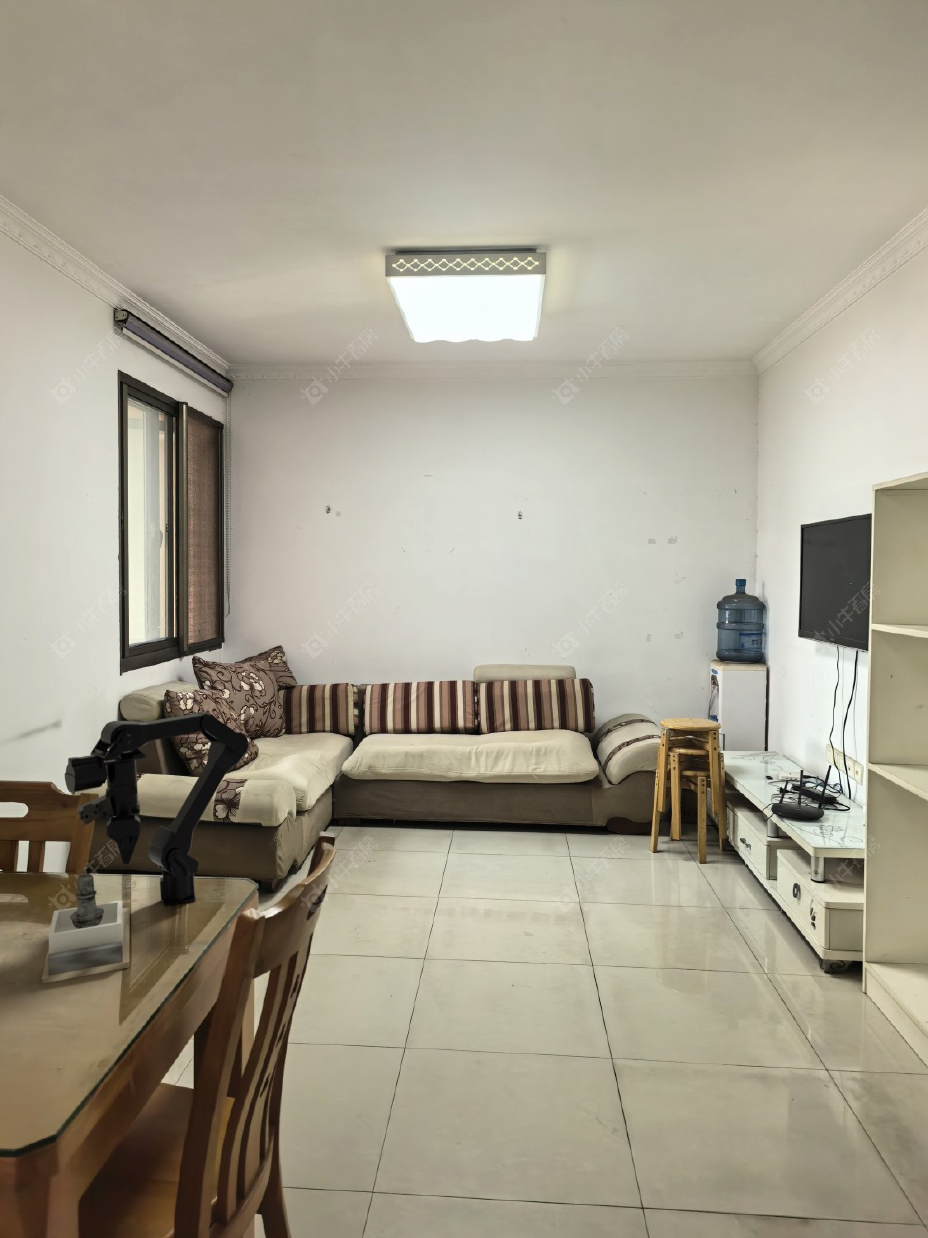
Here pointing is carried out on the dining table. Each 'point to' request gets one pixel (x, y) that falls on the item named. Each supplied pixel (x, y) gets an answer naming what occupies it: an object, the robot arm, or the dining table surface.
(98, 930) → the white tray
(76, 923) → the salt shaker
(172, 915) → the dining table surface
